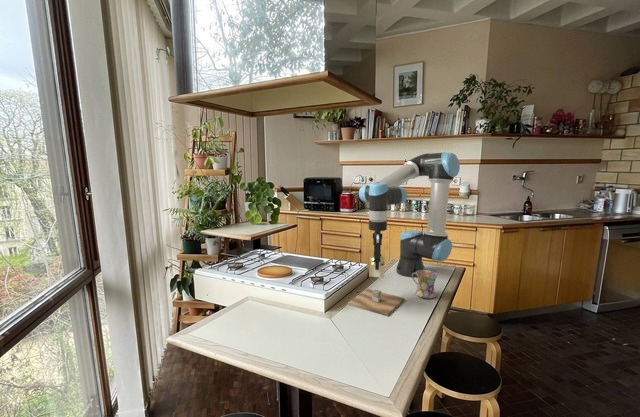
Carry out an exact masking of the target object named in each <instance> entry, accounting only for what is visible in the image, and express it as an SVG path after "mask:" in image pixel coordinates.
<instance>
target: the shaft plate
mask: <svg viewBox="0 0 640 417" xmlns="http://www.w3.org/2000/svg"><path fill="white" fill-rule="evenodd" d="M404 301H405V297H403V296H399V295H394V294H390V293H387V292H383V291H382V290H378V289H371V288H366V289H365V290H364V291H362V292H360V293H359V294H358V295H356V296H355V297H353V298H352V299H351V300H349V301H348V302H347V305H348V306H351V307H355V308H357V309H361V310H365V311H367V312H368V311H369V312H372V313H376V314H378V315H382V316H386V317H388V316H390V315H391V314H392V313H393V312H394V311H395V310H396V309H397V308H398V307H400V305H401V304H402V303H403V302H404Z"/></svg>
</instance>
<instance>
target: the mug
mask: <svg viewBox="0 0 640 417" xmlns="http://www.w3.org/2000/svg"><path fill="white" fill-rule="evenodd" d="M413 274H416V275H417V277H416V278H417V281H418V282H417V281H416V279H415V277H413ZM411 278H412V280H413V282H414V283H415V284H416V285H417V286H416V287H417V290H416V291H415V294H416V296H418V297H419V298H422V299H433V298H435V297H436V296H437V294H436V291H435V282H436V279H437V278H438V273H437V272H435V271H433V270H428V269H425V270H418V271H416V273H412V277H411Z"/></svg>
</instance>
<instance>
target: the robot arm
mask: <svg viewBox="0 0 640 417" xmlns="http://www.w3.org/2000/svg"><path fill="white" fill-rule="evenodd" d="M460 168H461V166H460V160H459V159H458V157H457V155H456V154H455V153H452V152H434V153H433V152H432V153H431V152H430V153H422V154H420V155H417V156H415V157H413V158H411V159H409V160H408V161H406V162H405V163H403V166H401V167H399V168H398V169H396V170H394V171H393V172H391V173H389V174H388V175H386V176H384V177H382V178H381V179H379V180H377V181H376V182H373V183H371V184H369V185H363V186H361V187H360V188H359V191H358V197H359V199H360V200H361V201H362V202H367V203H368V212H367V215H368V219H369V221H368V230H370V231H372V232H373V231H374V232H373V233H372V242H373V256H374V260H372V262H374V274H373V277H372V278H374V277H375V278H381V277H380V261H381V260H380V256H382V253H381V252H382V251H381V250H382V249H381V248H382V247H381V246H382V244H383V243H382V242H383V241H382V240H383V233H381V232H384V231H387V229H388V221H387V220H388V206H394V205H401V204H403V203H405V202H406V200H407V199H408V192H407V190H406V188H404V187H402V186H401V185H404V184H405V183H406V182H408V181H410V180H414V179H416V178H418V177H428V181H429V182H430V183H431V184H430V194H429V204H428V205H429V206H428V218H427V228H426V230H424V231H422V230H406V231H403V232H400V233H401V234H400V239H399V245H400V246H399V259H398V263H397V265H396V273H397V274H398V275H401V276H404V277H409V278H412V273H416V271H418V270H426V269H425V265H424V261H423V258H425V259H428V260H432V261H434V262H444V261H446V260H447V259H448V258H449V256H450V255H451V253H452V249H453V244H452V241H451V240H450V239H449V234H448V233H447V232H446V225H447V214H448V204H449V203H448V202H449V193H450V184H451V183H452V182H453V181H454V177H455V178H456V177H457V176H458V175H459V172H460ZM413 278H417V275H416V274H413Z"/></svg>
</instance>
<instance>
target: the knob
mask: <svg viewBox="0 0 640 417" xmlns="http://www.w3.org/2000/svg"><path fill="white" fill-rule="evenodd" d="M372 260H374V255H370V256H369V271H368V273H369V275H368V277H372V278H374V277H373V274H374V262H372ZM380 260H381V261H380V277H379V278H384V277H385V257H384V256H382V255H381V256H380Z"/></svg>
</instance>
